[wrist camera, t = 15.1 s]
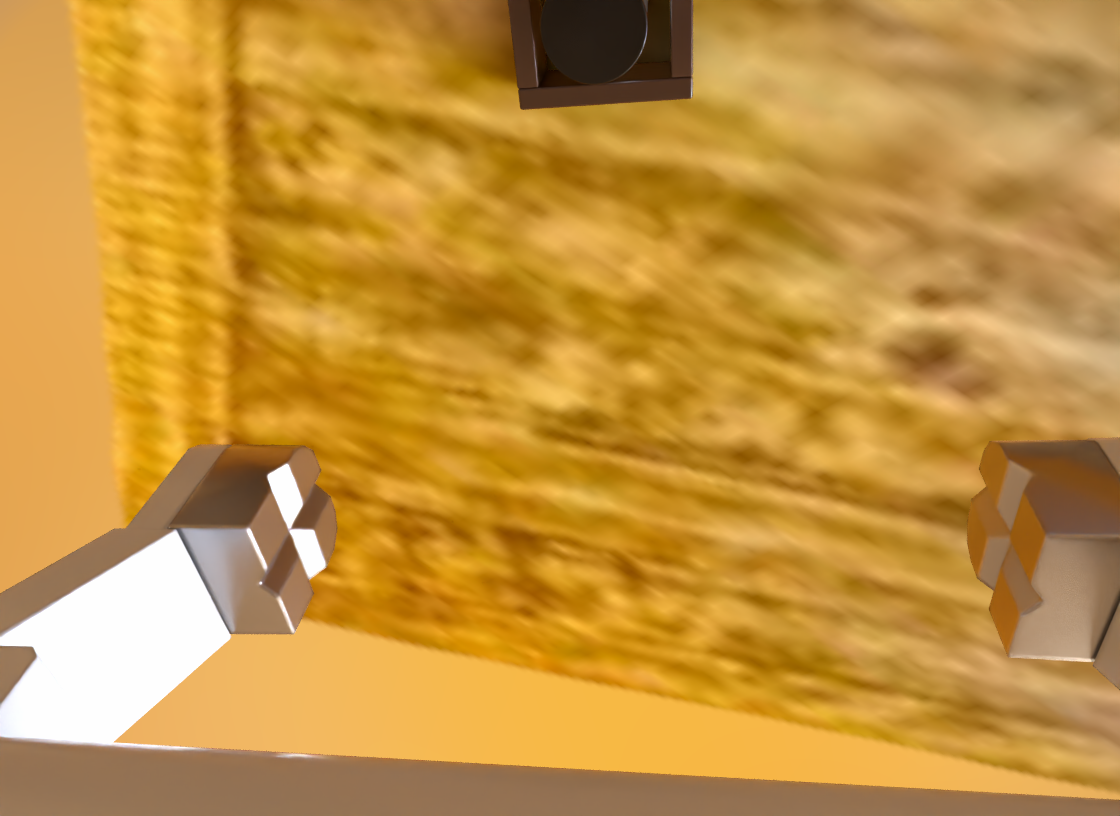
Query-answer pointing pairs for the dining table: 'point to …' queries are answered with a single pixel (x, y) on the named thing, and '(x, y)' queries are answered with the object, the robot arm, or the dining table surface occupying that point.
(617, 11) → the spice tin
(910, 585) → the dining table surface
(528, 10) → the spice rack
